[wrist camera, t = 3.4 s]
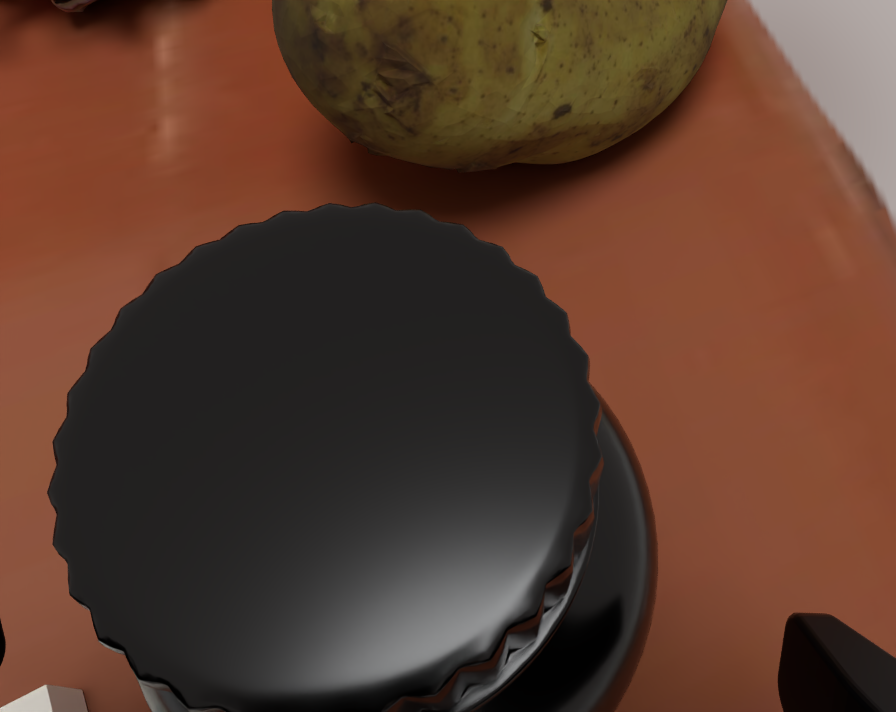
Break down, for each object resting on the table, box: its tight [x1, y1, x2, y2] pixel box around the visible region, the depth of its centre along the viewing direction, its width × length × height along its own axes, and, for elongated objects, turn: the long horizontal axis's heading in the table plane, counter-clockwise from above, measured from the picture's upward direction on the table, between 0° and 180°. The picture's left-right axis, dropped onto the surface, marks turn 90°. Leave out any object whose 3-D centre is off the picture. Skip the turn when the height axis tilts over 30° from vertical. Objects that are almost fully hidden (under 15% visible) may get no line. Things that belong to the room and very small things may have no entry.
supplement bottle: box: [47, 202, 658, 712], centre depth 12 cm, size 7×7×12 cm
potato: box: [272, 0, 727, 173], centre depth 20 cm, size 8×13×8 cm, turn 103°
